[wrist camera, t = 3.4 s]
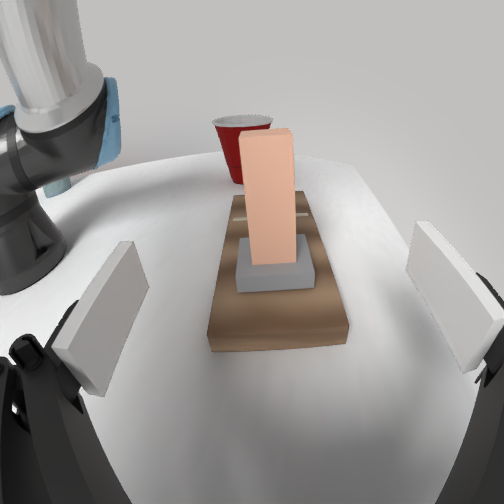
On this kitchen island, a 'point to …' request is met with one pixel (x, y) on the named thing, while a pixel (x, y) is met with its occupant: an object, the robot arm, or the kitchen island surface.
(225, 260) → the fader board
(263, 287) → the fader knob
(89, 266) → the kitchen island surface
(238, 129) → the plastic cup
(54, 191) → the grey-green tumbler
